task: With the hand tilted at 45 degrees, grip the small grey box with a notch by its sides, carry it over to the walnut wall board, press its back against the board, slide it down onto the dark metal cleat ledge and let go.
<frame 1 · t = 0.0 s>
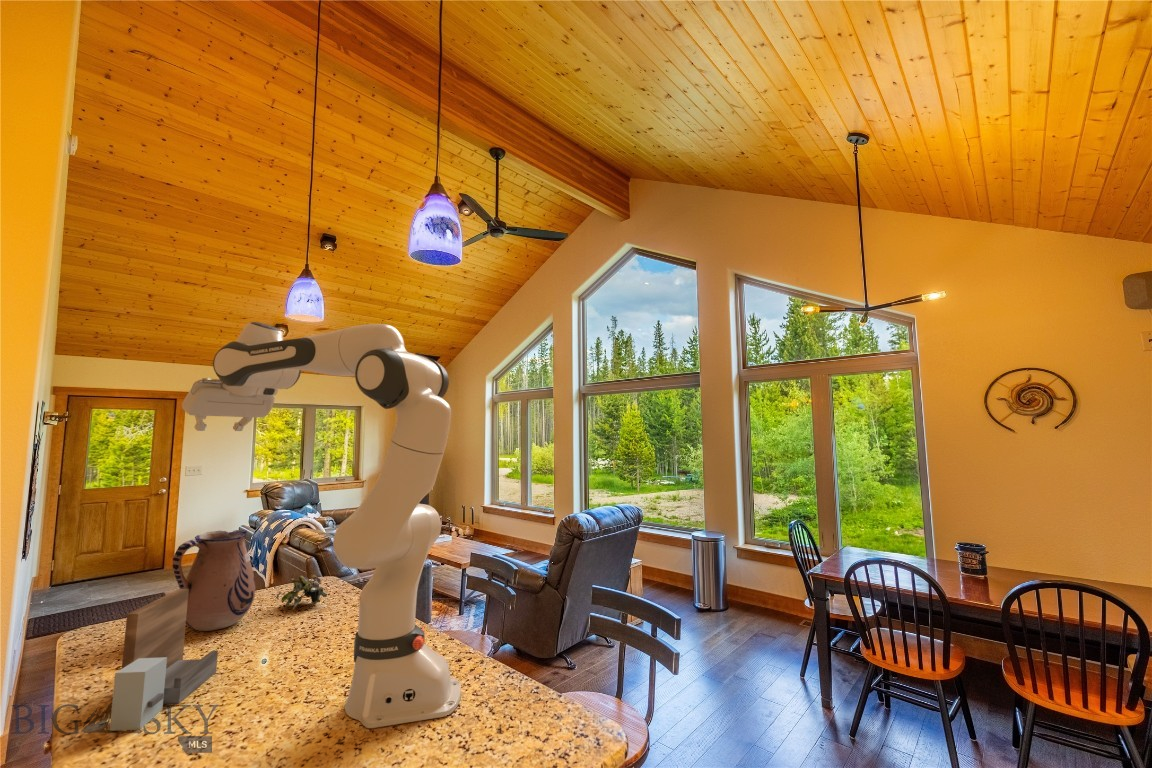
hand: (218, 429, 127), 54 cm above the kitchen island, tool tilted 30°, fingers open, 8 cm apart
ceramic pitcher: (210, 628, 138), on the kitchen island
wall board: (152, 689, 106), on the kitchen island
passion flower: (301, 607, 156), on the kitchen island
grey box with notch: (136, 720, 95), on the kitchen island
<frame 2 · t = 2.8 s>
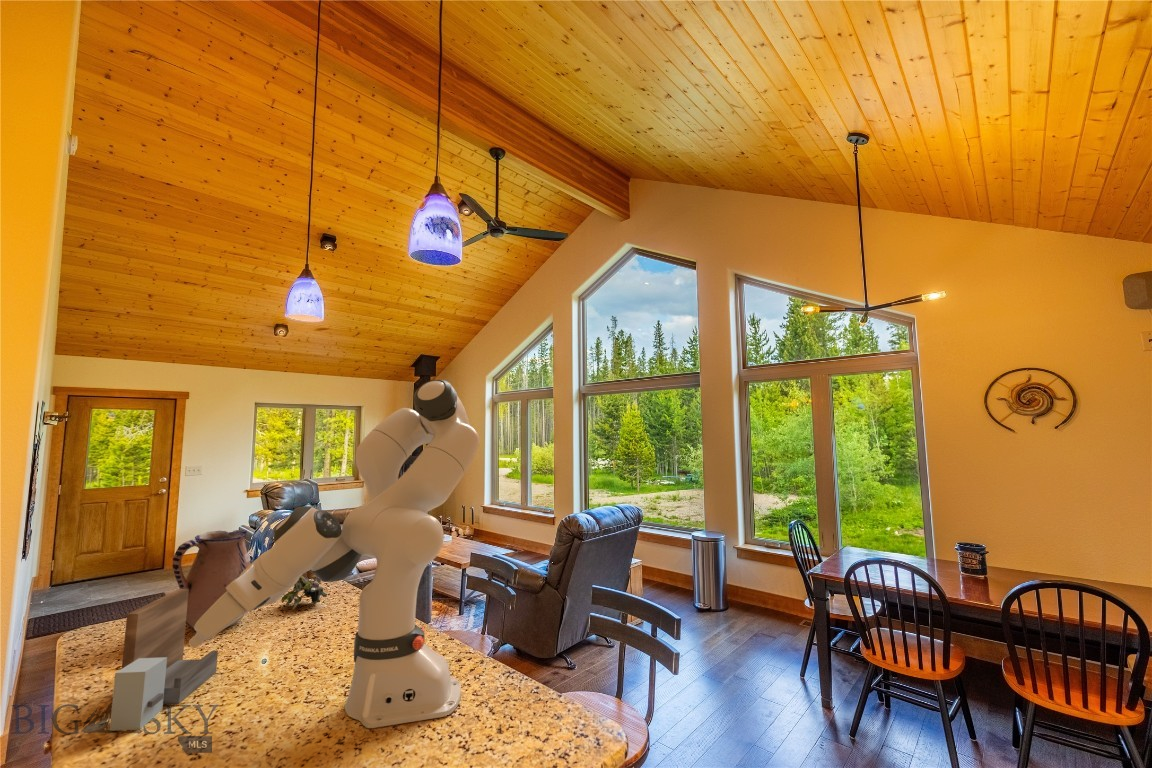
hand: (208, 633, 98), 15 cm above the kitchen island, tool tilted 45°, fingers open, 8 cm apart
nothing on the kitchen island moved.
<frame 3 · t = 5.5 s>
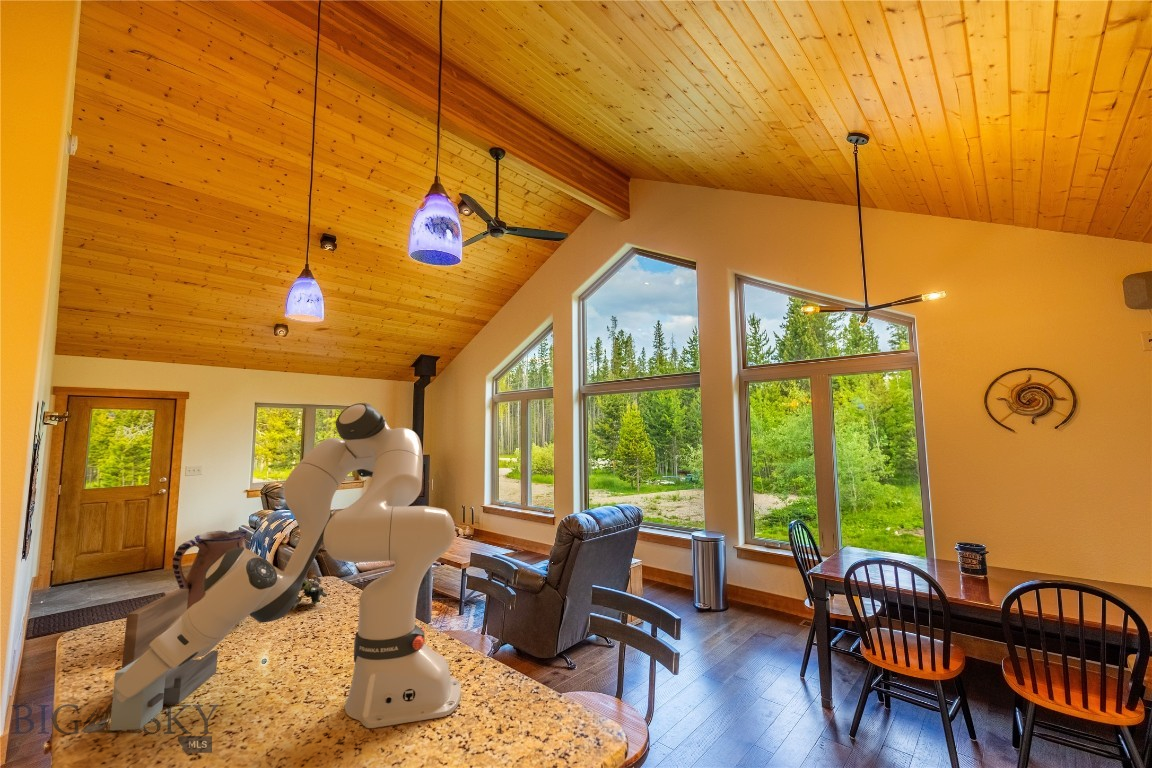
hand: (136, 687, 95), 6 cm above the kitchen island, tool tilted 45°, fingers closed on grey box with notch, 6 cm apart
grey box with notch: (136, 720, 95), on the kitchen island, touching gripper
everything else where it was.
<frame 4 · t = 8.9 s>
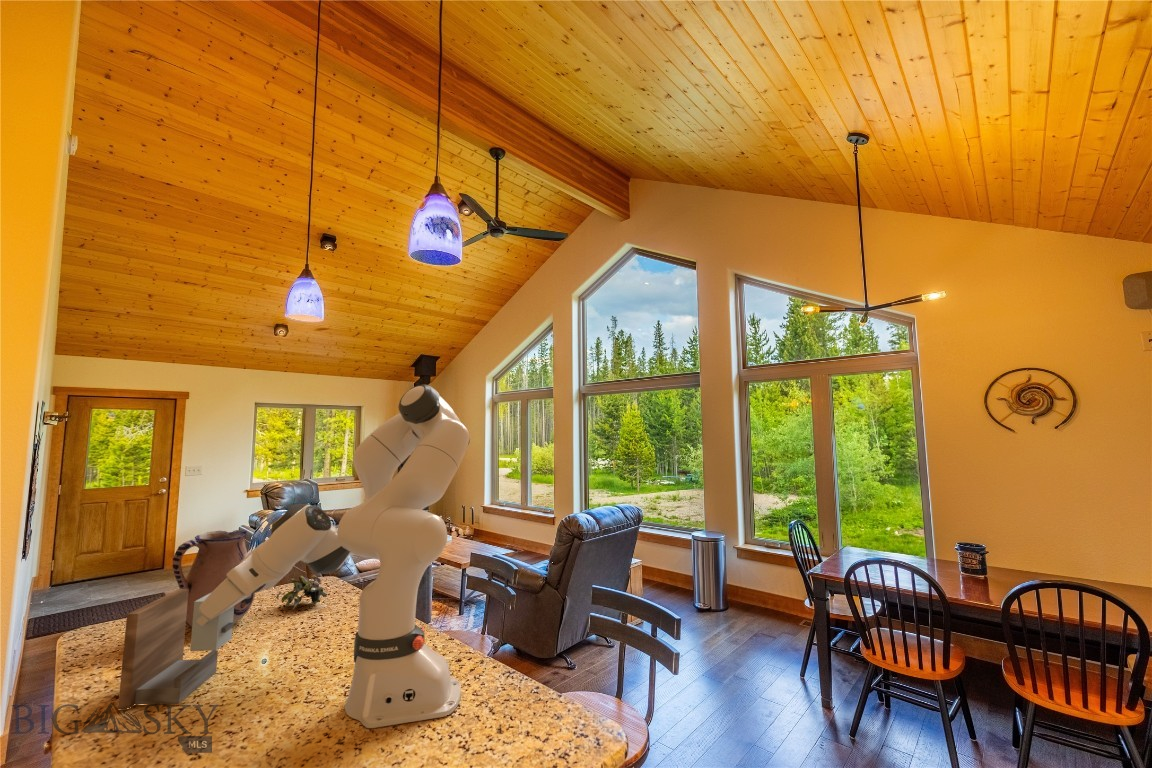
hand: (211, 616, 109), 14 cm above the kitchen island, tool tilted 45°, fingers closed on grey box with notch, 6 cm apart
grey box with notch: (211, 644, 108), point 8 cm above the kitchen island, touching gripper
everything else where it was.
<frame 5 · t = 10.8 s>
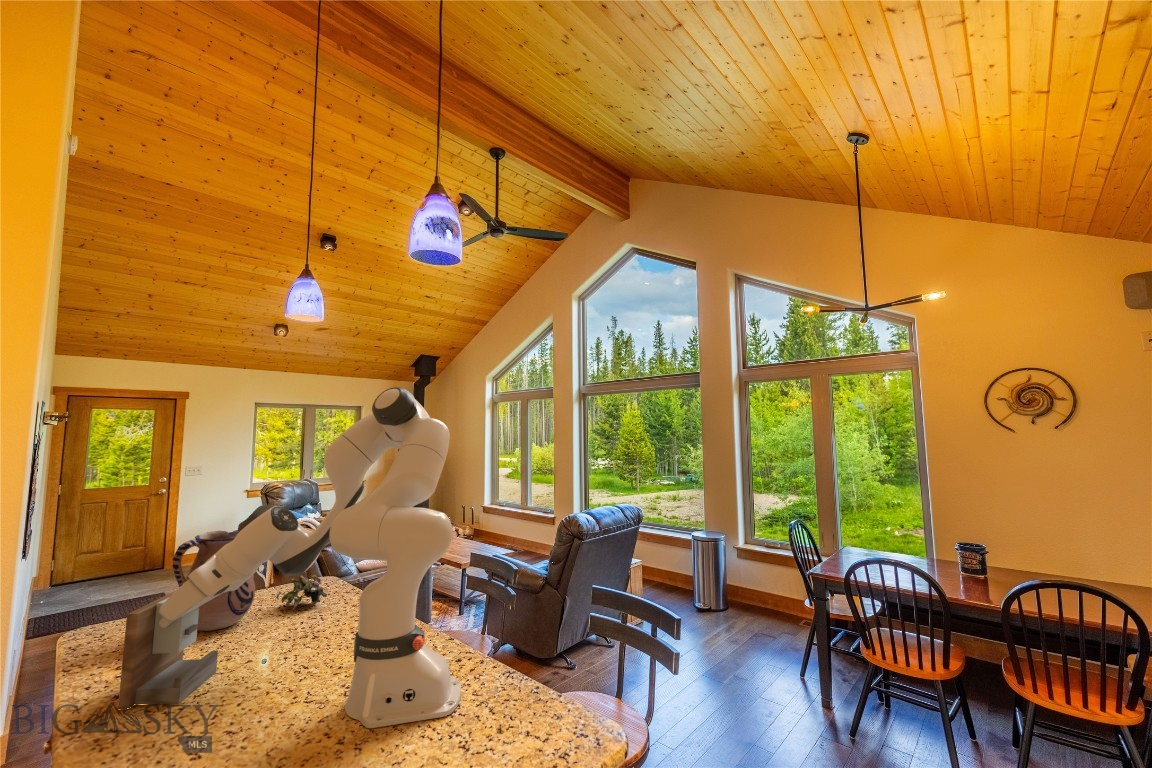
hand: (174, 618, 108), 14 cm above the kitchen island, tool tilted 45°, fingers closed on grey box with notch, 6 cm apart
grey box with notch: (174, 647, 107), point 8 cm above the kitchen island, touching gripper
everything else where it was.
when the fingers open (10 cm above the kitchen island, at t = 12.6 s): grey box with notch drops 1 cm, resting on wall board.
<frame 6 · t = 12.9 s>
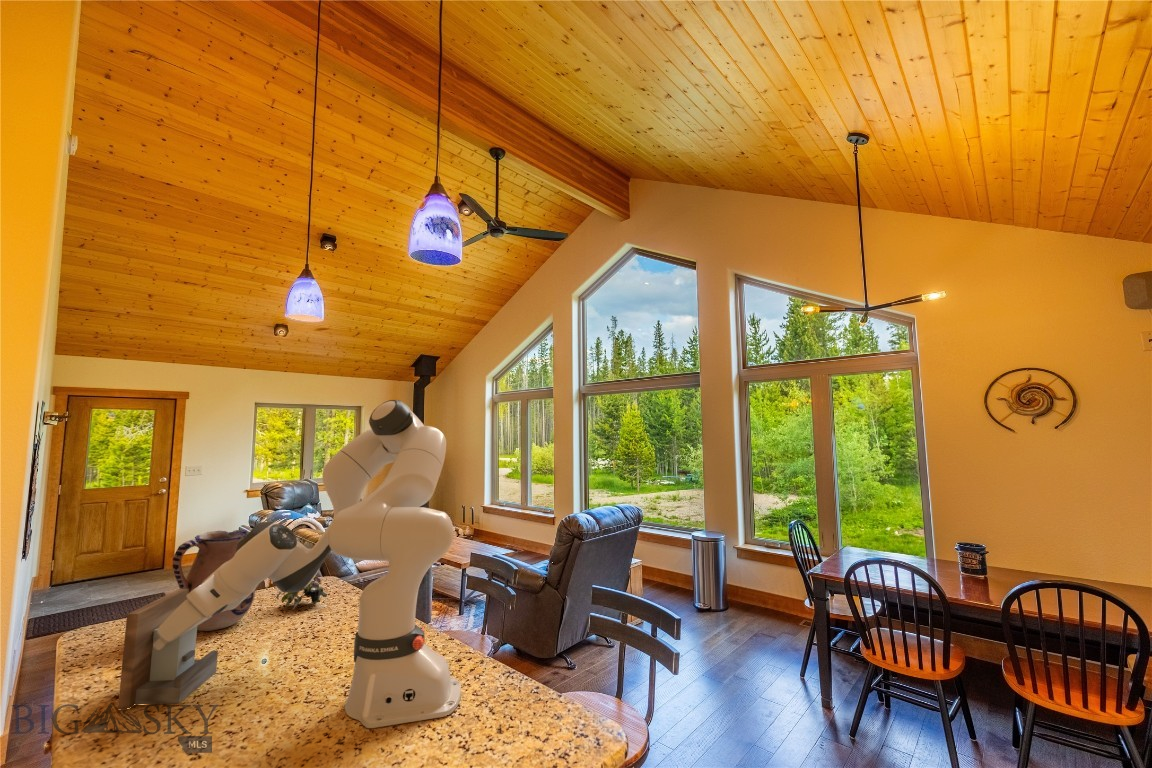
hand: (172, 637, 107), 10 cm above the kitchen island, tool tilted 45°, fingers open, 8 cm apart
grey box with notch: (172, 673, 107), point 3 cm above the kitchen island, touching wall board
everything else where it was.
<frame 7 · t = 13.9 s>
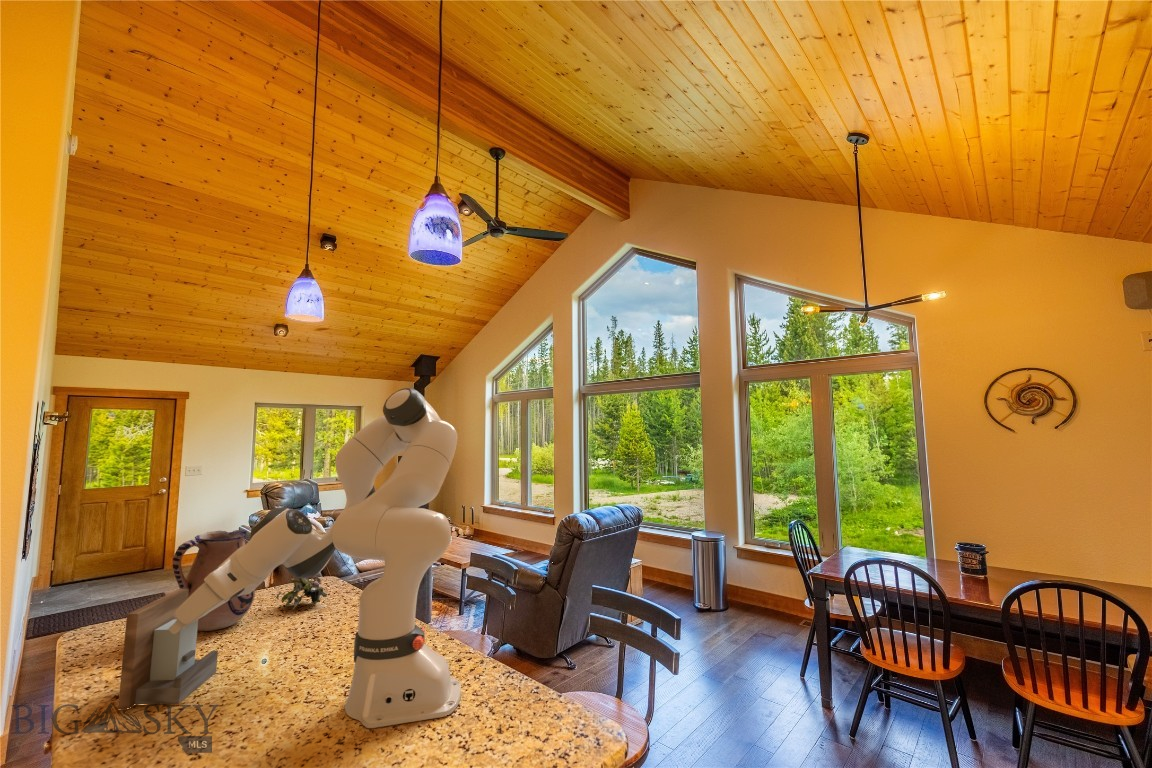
hand: (187, 622, 107), 14 cm above the kitchen island, tool tilted 45°, fingers open, 8 cm apart
nothing on the kitchen island moved.
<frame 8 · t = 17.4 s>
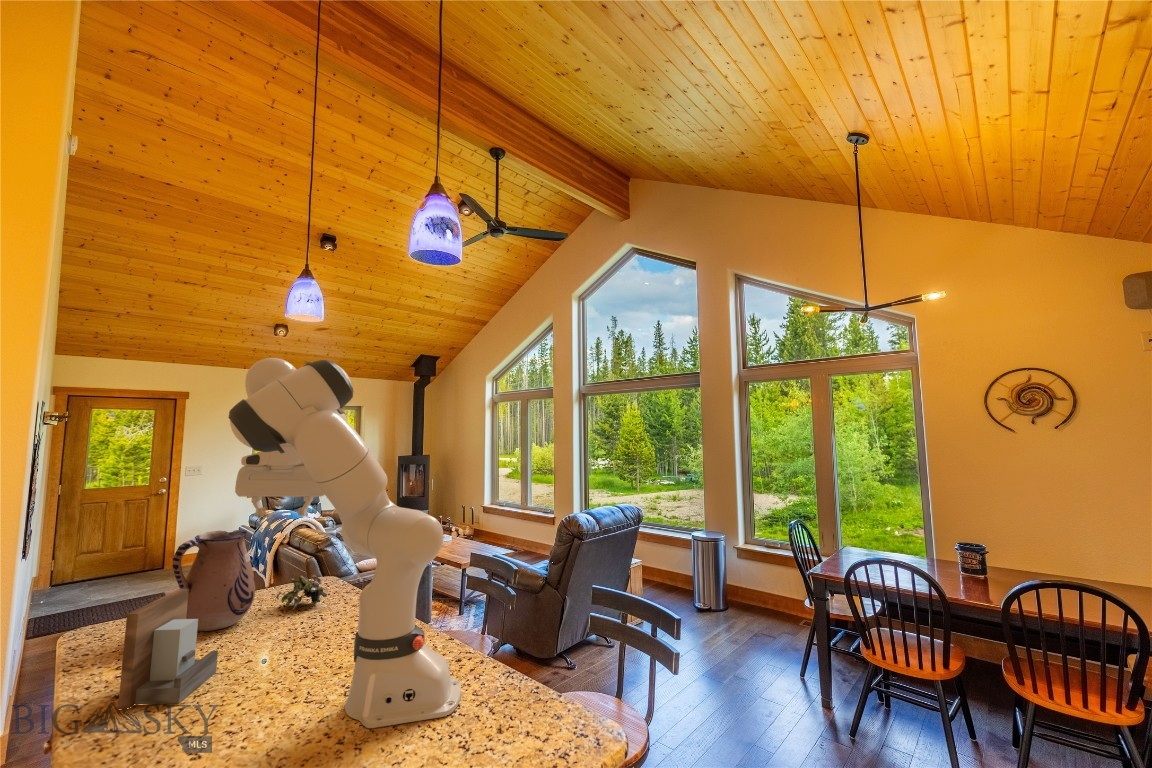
hand: (281, 515, 121), 34 cm above the kitchen island, tool pointing down, fingers open, 8 cm apart
nothing on the kitchen island moved.
at the end: grey box with notch 0.5 cm from the target spot on the wall board, point 3.0 cm above the wall board's base; grey box with notch tilted 0°; the gripper is holding nothing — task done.
